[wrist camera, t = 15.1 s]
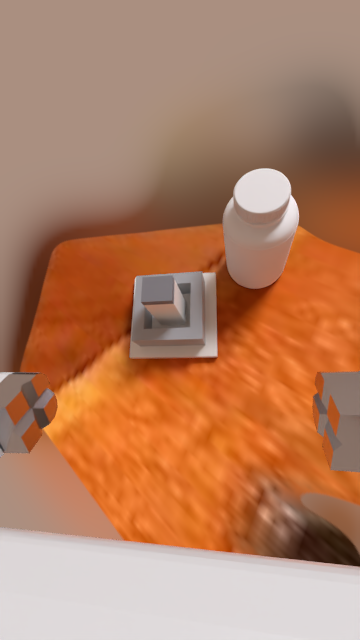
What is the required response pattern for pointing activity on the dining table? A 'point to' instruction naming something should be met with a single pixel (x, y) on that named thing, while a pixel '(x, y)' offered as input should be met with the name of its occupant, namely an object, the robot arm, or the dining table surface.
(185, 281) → the socket
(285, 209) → the pill bottle
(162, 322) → the plug
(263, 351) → the dining table surface
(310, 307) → the dining table surface
